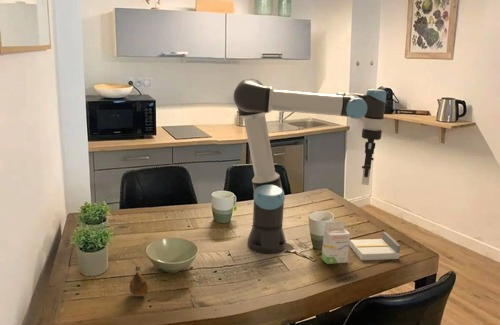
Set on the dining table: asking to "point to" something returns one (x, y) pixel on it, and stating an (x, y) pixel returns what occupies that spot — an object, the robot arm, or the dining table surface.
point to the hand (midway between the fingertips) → (365, 179)
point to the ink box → (335, 243)
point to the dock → (376, 248)
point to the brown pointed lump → (138, 284)
